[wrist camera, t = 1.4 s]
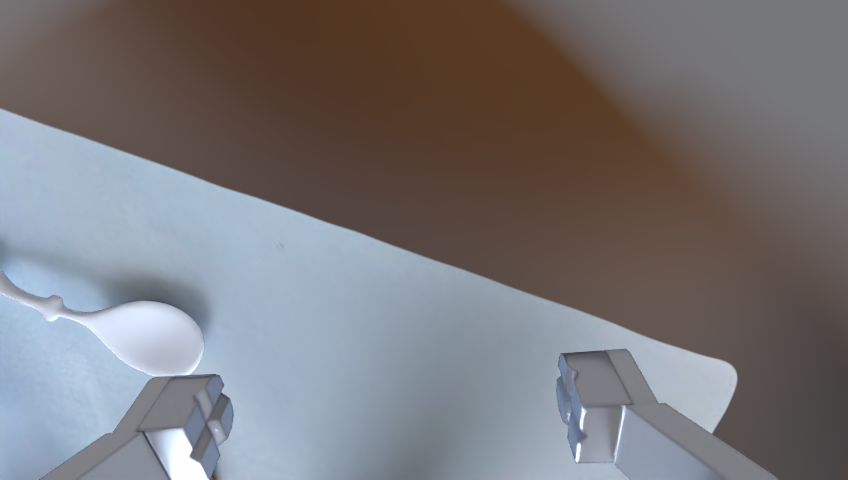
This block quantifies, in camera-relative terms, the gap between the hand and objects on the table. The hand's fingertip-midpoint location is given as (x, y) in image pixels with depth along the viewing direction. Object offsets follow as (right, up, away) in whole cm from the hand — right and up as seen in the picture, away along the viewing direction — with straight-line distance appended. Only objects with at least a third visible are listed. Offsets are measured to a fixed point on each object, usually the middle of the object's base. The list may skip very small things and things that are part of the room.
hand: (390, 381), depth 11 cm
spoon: (-40, -4, +44) cm, 59 cm away
